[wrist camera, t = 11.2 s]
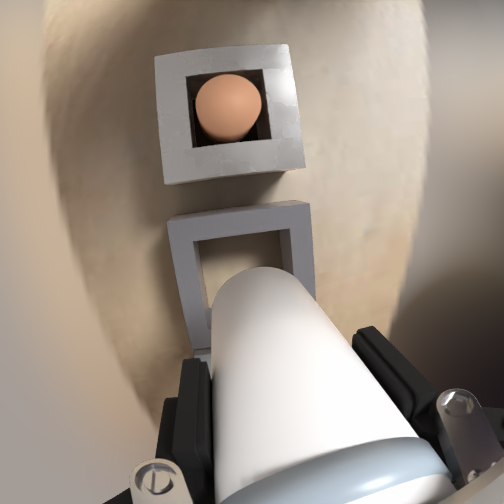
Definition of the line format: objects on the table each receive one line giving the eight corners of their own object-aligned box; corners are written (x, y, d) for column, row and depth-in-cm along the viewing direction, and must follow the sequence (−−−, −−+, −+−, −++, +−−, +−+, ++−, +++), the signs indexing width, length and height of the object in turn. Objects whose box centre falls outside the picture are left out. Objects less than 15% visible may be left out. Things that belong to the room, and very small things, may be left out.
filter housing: (174, 215, 23) (166, 221, 19) (294, 200, 24) (309, 203, 20) (194, 326, 26) (191, 349, 22) (302, 310, 27) (316, 329, 23)
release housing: (166, 81, 21) (154, 56, 15) (273, 71, 21) (287, 44, 16) (176, 184, 23) (164, 184, 17) (286, 171, 24) (305, 167, 18)
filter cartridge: (202, 271, 14) (182, 551, 2) (310, 258, 14) (503, 444, 3) (217, 362, 15) (236, 587, 3) (312, 348, 15) (416, 538, 4)
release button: (197, 99, 20) (193, 78, 15) (248, 94, 21) (257, 72, 16) (202, 148, 21) (198, 137, 16) (254, 141, 22) (264, 130, 17)
